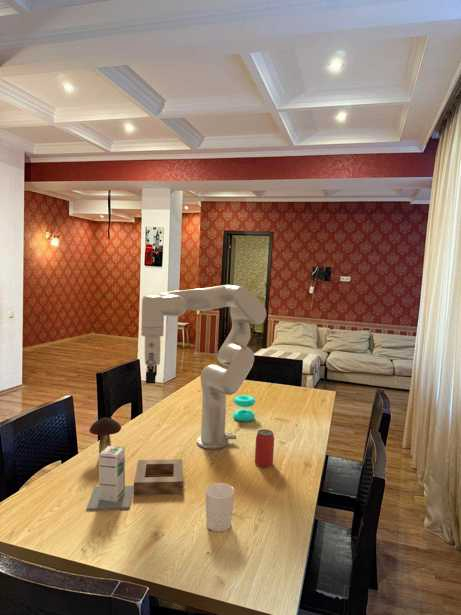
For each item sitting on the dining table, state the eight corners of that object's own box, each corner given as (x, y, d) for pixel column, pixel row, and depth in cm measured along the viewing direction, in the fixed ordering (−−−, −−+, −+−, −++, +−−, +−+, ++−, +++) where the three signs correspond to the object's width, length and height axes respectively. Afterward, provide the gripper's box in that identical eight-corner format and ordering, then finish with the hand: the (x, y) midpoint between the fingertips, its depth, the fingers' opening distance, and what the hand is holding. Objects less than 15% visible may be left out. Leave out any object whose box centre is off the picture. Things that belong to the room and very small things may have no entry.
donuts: (232, 400, 195) (235, 393, 205) (232, 421, 196) (234, 413, 206) (254, 401, 194) (255, 395, 204) (253, 423, 195) (254, 415, 205)
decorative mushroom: (95, 450, 160) (95, 411, 159) (124, 452, 160) (125, 413, 159) (84, 464, 150) (84, 422, 148) (115, 466, 149) (116, 424, 148)
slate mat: (133, 487, 136) (133, 485, 136) (129, 508, 124) (129, 507, 124) (94, 488, 134) (94, 486, 134) (86, 510, 122) (86, 508, 122)
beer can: (274, 461, 158) (276, 430, 156) (270, 469, 151) (272, 437, 150) (257, 458, 160) (259, 427, 158) (252, 466, 153) (254, 433, 152)
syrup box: (117, 502, 126) (117, 455, 124) (98, 500, 127) (98, 452, 125) (124, 492, 131) (125, 447, 130) (106, 490, 132) (107, 444, 131)
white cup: (204, 516, 122) (205, 482, 121) (231, 516, 123) (233, 482, 122) (204, 533, 114) (206, 498, 113) (234, 533, 115) (235, 497, 114)
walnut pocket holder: (182, 470, 148) (182, 459, 148) (182, 493, 133) (183, 481, 133) (137, 471, 146) (138, 460, 146) (133, 495, 131) (133, 482, 131)
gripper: (162, 335, 140) (161, 386, 142) (164, 327, 157) (162, 373, 159) (139, 335, 139) (138, 386, 141) (143, 327, 156) (142, 373, 158)
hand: (151, 379), depth 150 cm, fingers open, 9 cm apart
